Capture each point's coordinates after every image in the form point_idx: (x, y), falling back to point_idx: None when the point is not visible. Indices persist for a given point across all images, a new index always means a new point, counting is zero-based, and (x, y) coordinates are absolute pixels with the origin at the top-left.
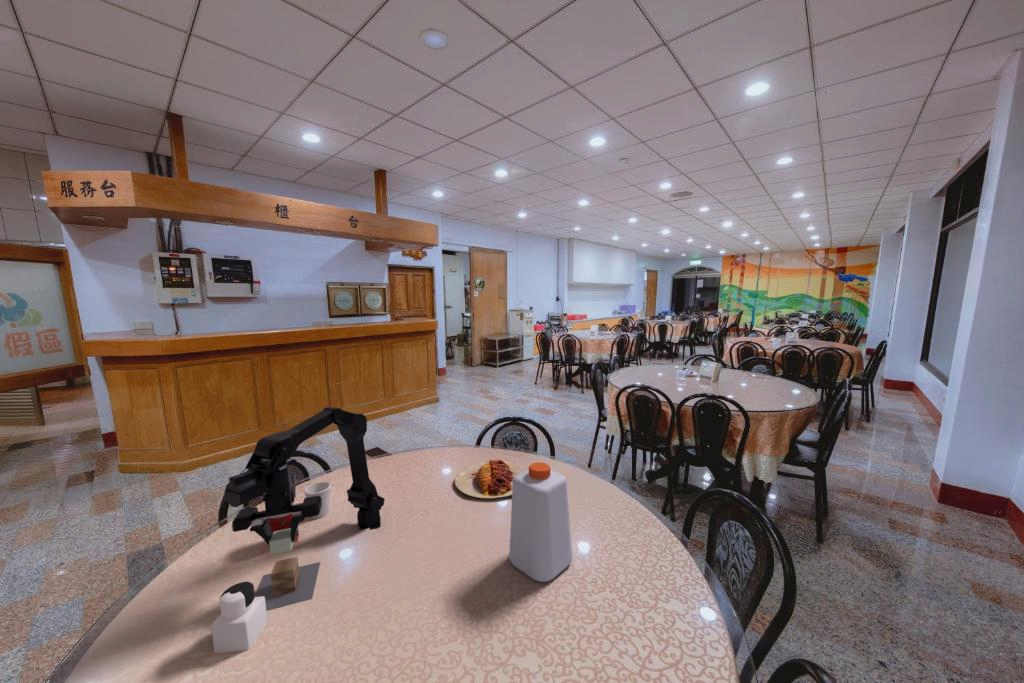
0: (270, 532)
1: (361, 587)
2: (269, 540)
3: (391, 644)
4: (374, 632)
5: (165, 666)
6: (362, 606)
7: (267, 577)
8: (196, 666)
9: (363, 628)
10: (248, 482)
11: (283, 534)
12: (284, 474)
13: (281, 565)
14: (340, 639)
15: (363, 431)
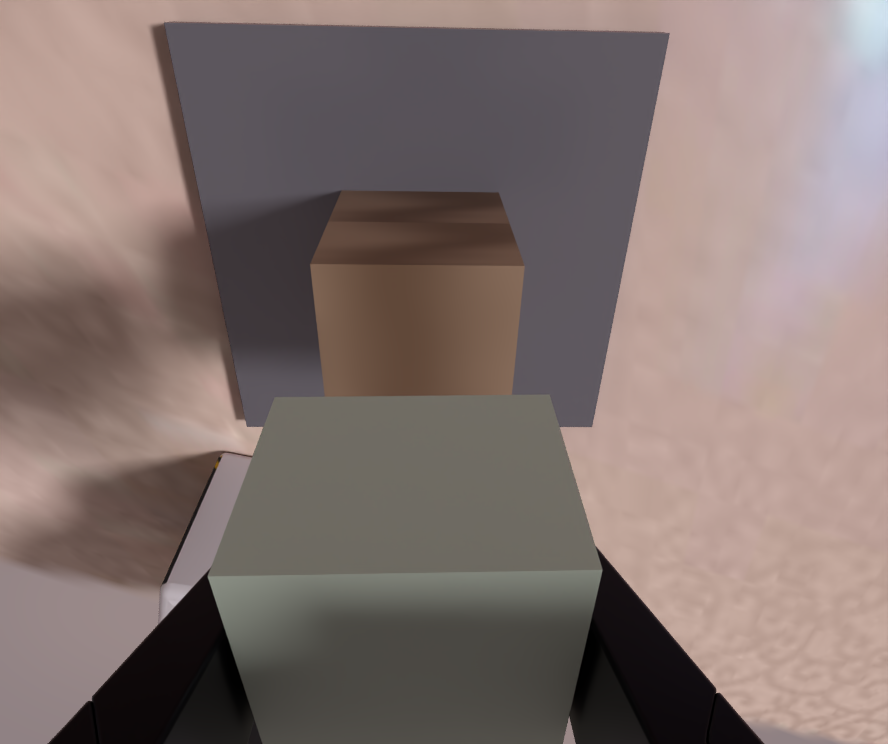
0: (194, 737)
1: (856, 413)
2: (251, 720)
3: (836, 674)
4: (805, 630)
5: (23, 544)
6: (811, 522)
7: (222, 79)
8: (165, 576)
9: (776, 608)
10: None
11: (444, 688)
12: None
13: (390, 351)
14: (686, 621)
15: None
